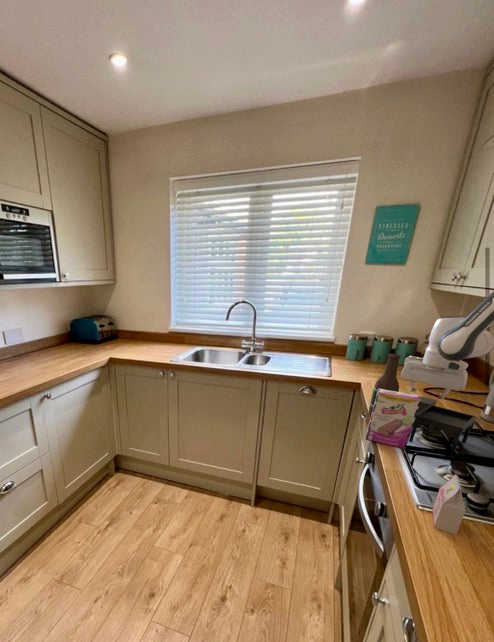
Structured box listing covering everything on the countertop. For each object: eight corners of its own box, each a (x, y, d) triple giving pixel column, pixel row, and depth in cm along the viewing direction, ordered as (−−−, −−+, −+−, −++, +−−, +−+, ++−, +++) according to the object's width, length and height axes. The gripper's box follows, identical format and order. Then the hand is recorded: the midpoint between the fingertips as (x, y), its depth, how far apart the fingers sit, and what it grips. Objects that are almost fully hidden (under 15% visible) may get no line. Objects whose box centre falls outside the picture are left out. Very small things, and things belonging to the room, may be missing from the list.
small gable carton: (452, 515, 72) (467, 476, 68) (456, 534, 67) (472, 493, 63) (432, 509, 74) (445, 471, 70) (433, 527, 68) (448, 486, 65)
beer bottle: (393, 417, 124) (410, 354, 115) (388, 423, 118) (405, 357, 110) (370, 411, 128) (385, 350, 120) (364, 417, 123) (379, 354, 115)
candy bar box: (365, 440, 105) (376, 392, 99) (365, 434, 109) (377, 387, 103) (406, 450, 100) (421, 399, 94) (405, 443, 104) (420, 394, 98)
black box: (433, 411, 130) (436, 400, 128) (426, 416, 125) (429, 404, 123) (418, 408, 134) (422, 396, 132) (411, 412, 129) (414, 400, 127)
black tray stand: (466, 442, 105) (476, 416, 102) (453, 456, 96) (463, 428, 93) (423, 429, 114) (431, 404, 111) (407, 441, 105) (414, 414, 102)
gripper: (403, 355, 128) (394, 389, 133) (469, 367, 113) (456, 405, 118) (409, 353, 132) (400, 386, 136) (473, 365, 117) (461, 401, 122)
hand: (426, 395), depth 127 cm, fingers open, 8 cm apart
